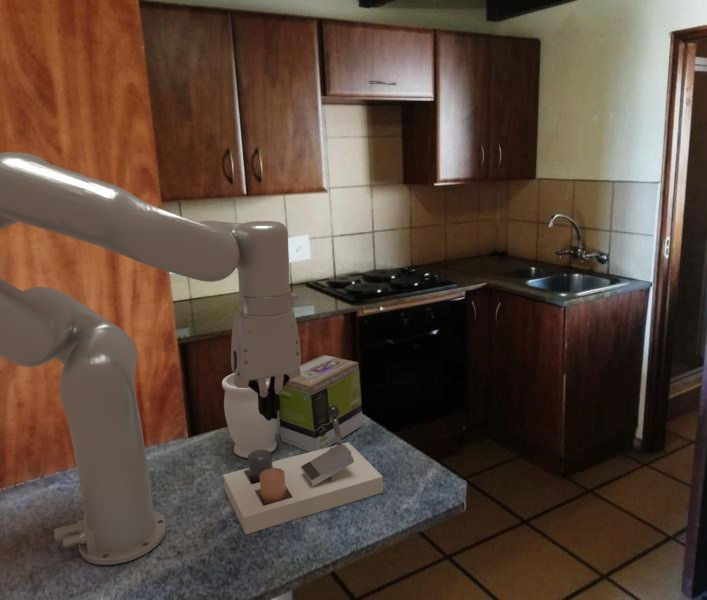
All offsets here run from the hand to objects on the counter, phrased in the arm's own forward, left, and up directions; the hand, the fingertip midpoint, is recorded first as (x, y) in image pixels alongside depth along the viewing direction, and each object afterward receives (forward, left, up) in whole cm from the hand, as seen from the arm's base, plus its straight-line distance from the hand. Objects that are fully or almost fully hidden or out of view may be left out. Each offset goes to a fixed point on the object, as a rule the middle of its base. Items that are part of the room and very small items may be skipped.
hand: (269, 416), depth 93 cm
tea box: (+17, +21, -17) cm, 31 cm away
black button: (0, +7, -15) cm, 16 cm away
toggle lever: (+15, +7, -12) cm, 20 cm away
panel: (+6, +3, -17) cm, 18 cm away
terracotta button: (0, 0, -14) cm, 15 cm away
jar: (+3, +22, -17) cm, 27 cm away
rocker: (+10, +1, -12) cm, 15 cm away
